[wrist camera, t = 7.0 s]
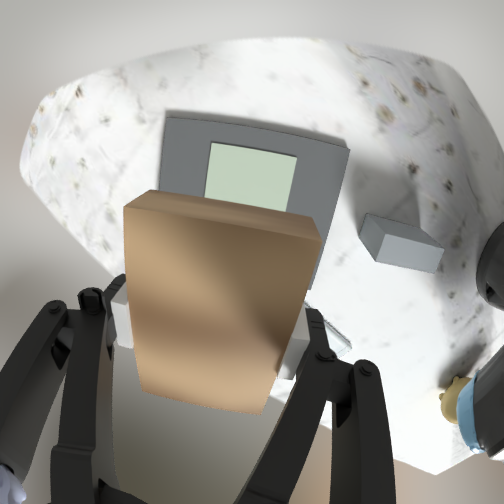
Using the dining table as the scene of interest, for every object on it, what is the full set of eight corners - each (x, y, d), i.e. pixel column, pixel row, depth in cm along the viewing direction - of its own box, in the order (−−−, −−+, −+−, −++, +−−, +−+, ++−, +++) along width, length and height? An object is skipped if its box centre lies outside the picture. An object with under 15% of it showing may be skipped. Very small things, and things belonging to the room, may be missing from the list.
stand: (420, 228, 29) (444, 249, 24) (412, 250, 31) (434, 273, 25) (366, 213, 29) (385, 233, 24) (358, 237, 31) (375, 261, 25)
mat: (348, 148, 26) (350, 149, 25) (309, 286, 34) (310, 290, 33) (169, 117, 26) (166, 117, 25) (158, 258, 33) (155, 262, 32)
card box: (261, 382, 16) (260, 415, 14) (154, 361, 16) (142, 391, 14) (312, 217, 11) (322, 240, 9) (149, 189, 11) (123, 206, 9)
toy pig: (481, 368, 42) (499, 401, 32) (443, 400, 46) (457, 434, 37) (470, 357, 40) (491, 394, 30) (428, 392, 44) (443, 430, 35)
